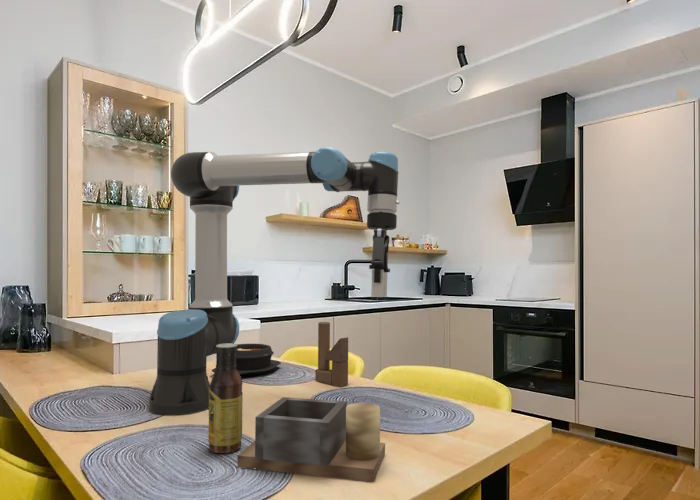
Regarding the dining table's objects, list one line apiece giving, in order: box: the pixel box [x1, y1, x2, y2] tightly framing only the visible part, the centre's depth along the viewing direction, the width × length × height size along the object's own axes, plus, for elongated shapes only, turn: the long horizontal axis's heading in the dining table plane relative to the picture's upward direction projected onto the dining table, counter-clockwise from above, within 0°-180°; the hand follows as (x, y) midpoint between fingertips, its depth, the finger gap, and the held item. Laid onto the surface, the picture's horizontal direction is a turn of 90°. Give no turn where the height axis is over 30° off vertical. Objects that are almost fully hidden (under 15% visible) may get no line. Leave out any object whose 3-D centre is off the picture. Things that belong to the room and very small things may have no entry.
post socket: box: [236, 396, 386, 483], centre depth 86 cm, size 24×13×10 cm, turn 77°
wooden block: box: [314, 321, 349, 388], centre depth 143 cm, size 4×11×18 cm, turn 46°
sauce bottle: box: [207, 343, 243, 454], centre depth 91 cm, size 6×6×20 cm
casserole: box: [211, 343, 282, 376], centre depth 158 cm, size 25×19×8 cm
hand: (379, 297), depth 119 cm, fingers open, 13 cm apart
